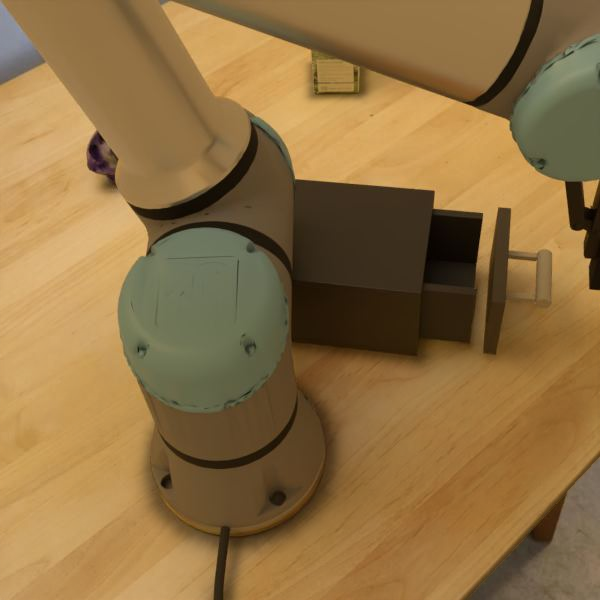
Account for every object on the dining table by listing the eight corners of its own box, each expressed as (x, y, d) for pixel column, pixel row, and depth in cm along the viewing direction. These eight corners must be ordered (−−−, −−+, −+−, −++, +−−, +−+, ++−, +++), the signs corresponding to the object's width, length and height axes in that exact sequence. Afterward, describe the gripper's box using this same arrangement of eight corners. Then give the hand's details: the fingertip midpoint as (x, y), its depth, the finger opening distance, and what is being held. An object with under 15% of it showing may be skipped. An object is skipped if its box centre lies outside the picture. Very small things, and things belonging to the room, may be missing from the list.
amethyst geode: (65, 98, 98) (95, 104, 90) (135, 99, 103) (170, 105, 95) (68, 179, 101) (97, 191, 93) (136, 176, 105) (170, 188, 97)
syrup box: (360, 65, 109) (358, -40, 97) (359, 95, 105) (357, -11, 94) (315, 66, 109) (308, -39, 98) (313, 96, 106) (305, -10, 94)
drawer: (544, 266, 85) (557, 212, 79) (542, 360, 78) (556, 308, 72) (368, 249, 88) (368, 195, 82) (351, 338, 82) (349, 286, 75)
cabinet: (429, 256, 88) (435, 190, 81) (417, 356, 81) (421, 293, 73) (292, 243, 91) (284, 177, 83) (267, 339, 83) (256, 276, 76)
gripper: (759, 31, 60) (670, 254, 78) (566, 22, 62) (524, 241, 80) (775, 100, 55) (677, 319, 74) (566, 88, 57) (522, 303, 76)
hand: (597, 278), depth 77 cm, fingers closed
